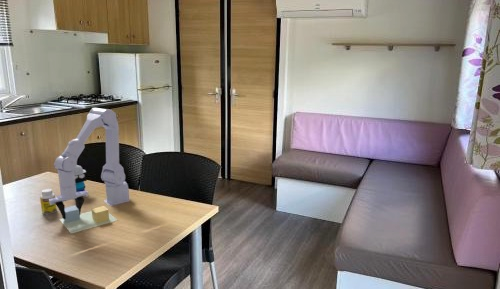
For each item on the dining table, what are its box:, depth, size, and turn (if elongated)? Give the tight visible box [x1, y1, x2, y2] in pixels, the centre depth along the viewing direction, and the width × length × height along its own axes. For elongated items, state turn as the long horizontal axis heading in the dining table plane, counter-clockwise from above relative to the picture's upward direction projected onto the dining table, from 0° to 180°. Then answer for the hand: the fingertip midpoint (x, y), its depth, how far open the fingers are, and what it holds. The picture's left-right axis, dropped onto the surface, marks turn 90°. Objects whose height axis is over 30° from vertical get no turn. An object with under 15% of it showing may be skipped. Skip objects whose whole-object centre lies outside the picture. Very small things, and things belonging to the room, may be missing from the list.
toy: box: [74, 164, 87, 192], centre depth 179 cm, size 8×9×15 cm
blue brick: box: [64, 205, 81, 223], centre depth 154 cm, size 5×5×4 cm
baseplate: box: [59, 210, 118, 234], centre depth 154 cm, size 18×16×1 cm
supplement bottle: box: [39, 188, 58, 215], centre depth 160 cm, size 6×6×10 cm
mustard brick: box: [91, 205, 110, 223], centre depth 153 cm, size 5×5×4 cm
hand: (71, 216), depth 154 cm, fingers closed on blue brick, 5 cm apart
